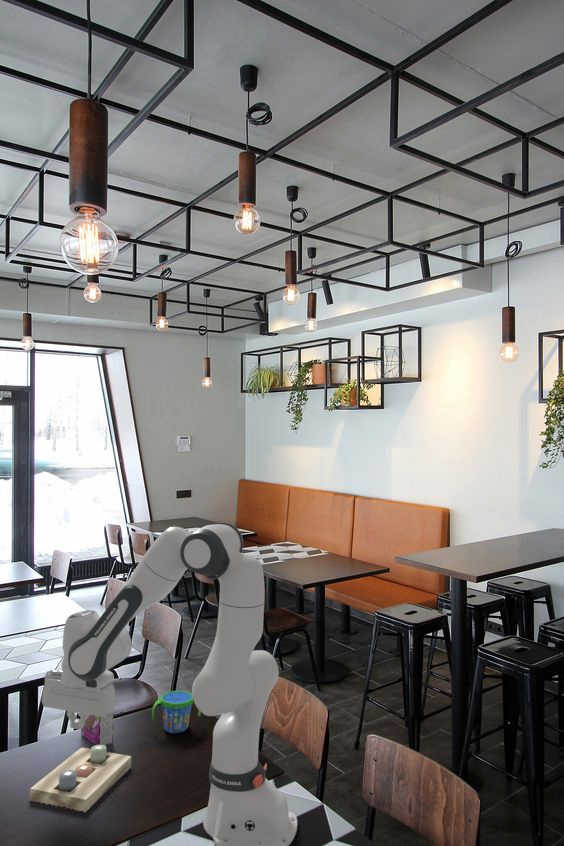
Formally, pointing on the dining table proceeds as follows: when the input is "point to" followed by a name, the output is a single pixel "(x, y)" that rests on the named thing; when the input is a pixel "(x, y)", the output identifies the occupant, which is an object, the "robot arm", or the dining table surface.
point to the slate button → (67, 780)
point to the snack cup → (175, 710)
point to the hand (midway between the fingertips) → (76, 727)
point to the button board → (81, 781)
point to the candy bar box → (98, 729)
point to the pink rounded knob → (84, 770)
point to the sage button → (98, 754)
